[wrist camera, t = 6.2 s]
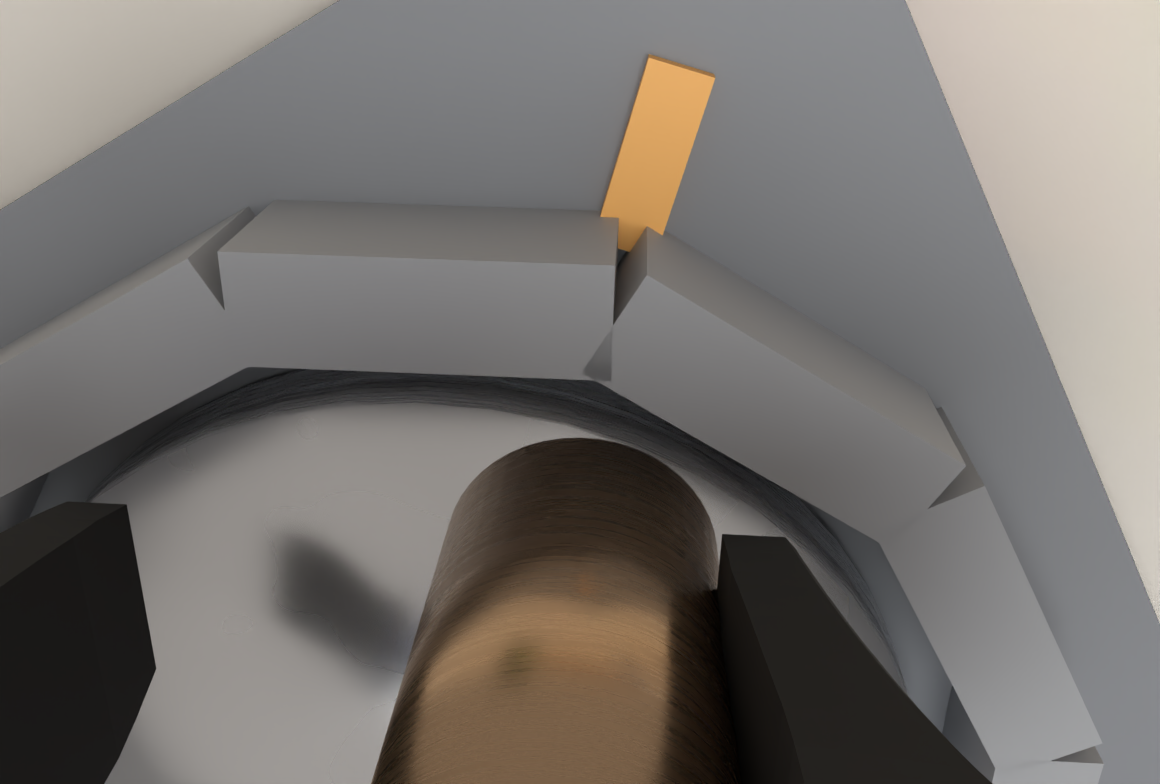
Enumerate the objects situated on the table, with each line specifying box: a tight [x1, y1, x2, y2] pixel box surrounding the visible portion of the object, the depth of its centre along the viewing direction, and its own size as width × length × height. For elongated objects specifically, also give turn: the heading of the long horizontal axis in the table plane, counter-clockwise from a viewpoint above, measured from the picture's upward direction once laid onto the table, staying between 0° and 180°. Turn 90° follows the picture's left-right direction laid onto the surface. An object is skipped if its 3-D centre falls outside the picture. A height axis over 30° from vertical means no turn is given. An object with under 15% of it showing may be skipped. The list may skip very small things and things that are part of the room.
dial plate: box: [0, 0, 1160, 784], centre depth 15 cm, size 18×18×3 cm
